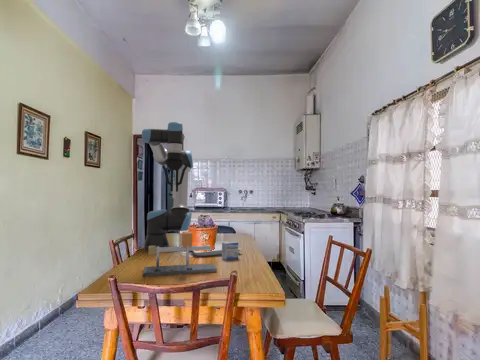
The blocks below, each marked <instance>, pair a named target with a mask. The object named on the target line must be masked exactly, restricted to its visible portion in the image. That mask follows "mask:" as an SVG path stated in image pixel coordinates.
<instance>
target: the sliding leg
mask: <svg viewBox="0 0 480 360" xmlns="http://www.w3.org/2000/svg"><path fill="white" fill-rule="evenodd" d="M181 232H182V233H181V234H182V236H181V237H182V238H181V243H182V244H181V245H182V246H183V247H186V251H185V252H186V253H185V261H186V262H185V265H186V267H188V266H189V265H190V251H189V247H192V243H193V232H192V231H181Z"/></svg>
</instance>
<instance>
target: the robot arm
mask: <svg viewBox="0 0 480 360" xmlns="http://www.w3.org/2000/svg"><path fill="white" fill-rule="evenodd" d="M183 127H184V126H183V123H181V122H178V121H177V122H176V121H172V122H171V121H170V122H168V123H167V129H160V128H158V129H157V128H143V129H142V132H141V140H142V141H141V142H143V143H145V144H149V146H150V148H151V151H152V153H153V154H152V157H153V159H154V161H155V162H156V163H158V165H160V166H161V168H162V170H163V172H164V176H165V181H166V184H167V185H169V186H170V187H169V188H170V189H169V190H170V191H169V192H172V197H171V198H172V199H173V206H172V207H171V208H170V211H168V210H167V209H156V210H151V211H149V212H148V213H147V216H146V222H147V223H146V224H147V225H146V238H145V241H144V243H143V249H144V250H146V251H148V248H149V246H156V247H157V246H159V247H170V243H169V239H168V236H167V232H180V231H181V232H188V230H189V229H188V226H190V227H191V224H192V223H191V222H192V215H193V214H192V212H191V211H190V208H189V207H188V193H189V192H188V191H189V189H188V188H189V172H191V170H192V169H194V162H193V155H192V151H191V150H187V149H186V150H185V149H184V150H183V142H184V139H185V135H184V133H183V129H184V128H183ZM165 144H167V145H166V147H167V149H166V147H165ZM167 168H168V169H169V170H170V177H169V174H168V171H167Z"/></svg>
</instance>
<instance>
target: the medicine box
mask: <svg viewBox="0 0 480 360" xmlns="http://www.w3.org/2000/svg"><path fill="white" fill-rule="evenodd" d="M238 247H239V242H238V241H228V242H226V243H222V255H221V258H222V260H225V261H229V260H230V261H231V260H236V259H239V252H238Z"/></svg>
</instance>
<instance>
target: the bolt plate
mask: <svg viewBox="0 0 480 360" xmlns="http://www.w3.org/2000/svg"><path fill="white" fill-rule="evenodd" d="M217 269H218V268H217V267H216V266H215V264H214V263H212V262H211V263H195V264H190V263H189V266H188V267H186V264H175V265H159V268H158V269H157V268H156V265H155V266H153V265H152V266H144V267H143V271H142V273H143V274H142V277H156V276H159V277H160V276H172V275H173V276H174V275H176V276H177V275H187V274H188V275H189V274H191V273H192V274H205V273H218V272H217Z"/></svg>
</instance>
